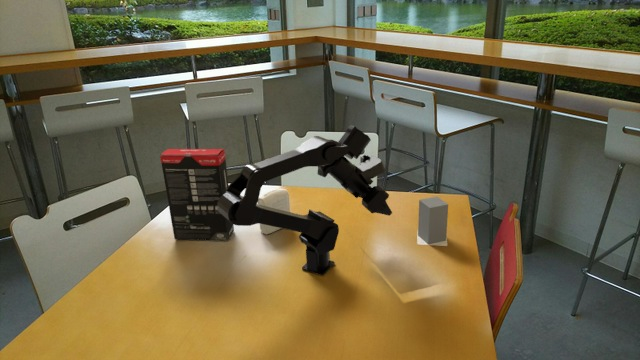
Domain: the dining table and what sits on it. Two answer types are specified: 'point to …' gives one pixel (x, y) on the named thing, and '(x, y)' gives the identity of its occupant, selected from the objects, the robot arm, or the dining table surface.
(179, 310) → the dining table surface
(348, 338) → the dining table surface
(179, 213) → the graphics card box
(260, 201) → the photo printer
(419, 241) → the base
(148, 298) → the dining table surface
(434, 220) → the tall grey box
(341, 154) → the robot arm
